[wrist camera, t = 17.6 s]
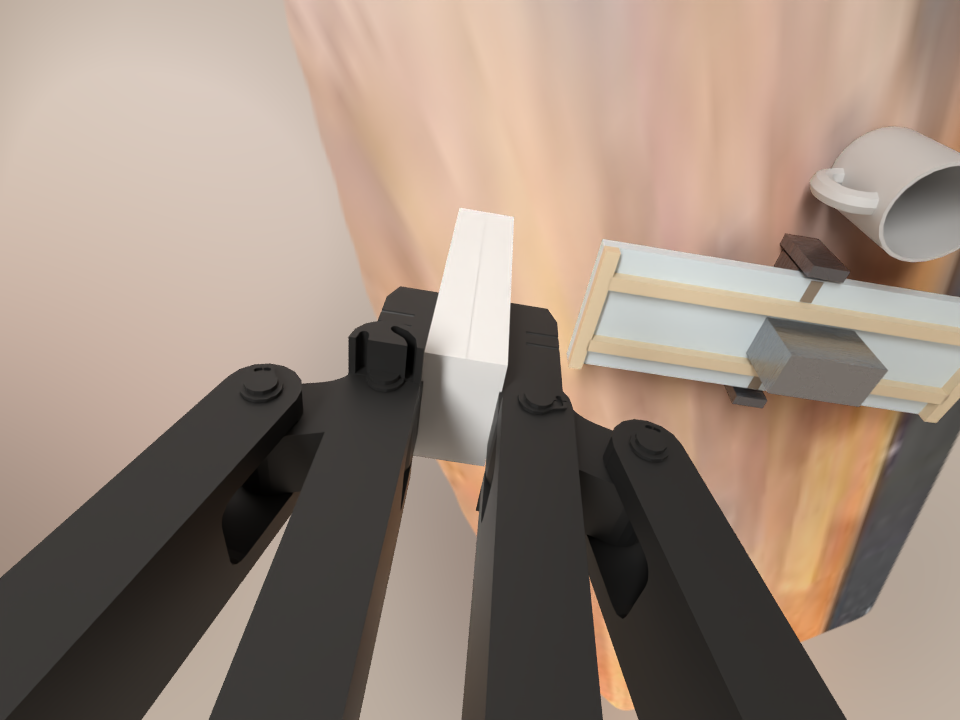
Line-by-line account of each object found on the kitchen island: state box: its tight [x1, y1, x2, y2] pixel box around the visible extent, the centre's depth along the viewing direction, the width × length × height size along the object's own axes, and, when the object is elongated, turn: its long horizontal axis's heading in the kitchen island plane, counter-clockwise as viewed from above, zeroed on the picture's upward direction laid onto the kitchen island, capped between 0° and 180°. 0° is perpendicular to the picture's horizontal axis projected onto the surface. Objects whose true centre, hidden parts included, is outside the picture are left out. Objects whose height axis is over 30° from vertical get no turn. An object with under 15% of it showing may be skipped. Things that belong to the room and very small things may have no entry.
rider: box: [746, 317, 888, 407], centre depth 46 cm, size 4×8×6 cm, turn 82°
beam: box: [567, 239, 960, 423], centre depth 49 cm, size 12×36×2 cm, turn 81°
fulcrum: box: [724, 233, 850, 408], centre depth 50 cm, size 15×3×6 cm, turn 171°
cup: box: [810, 126, 960, 262], centre depth 41 cm, size 7×10×9 cm
